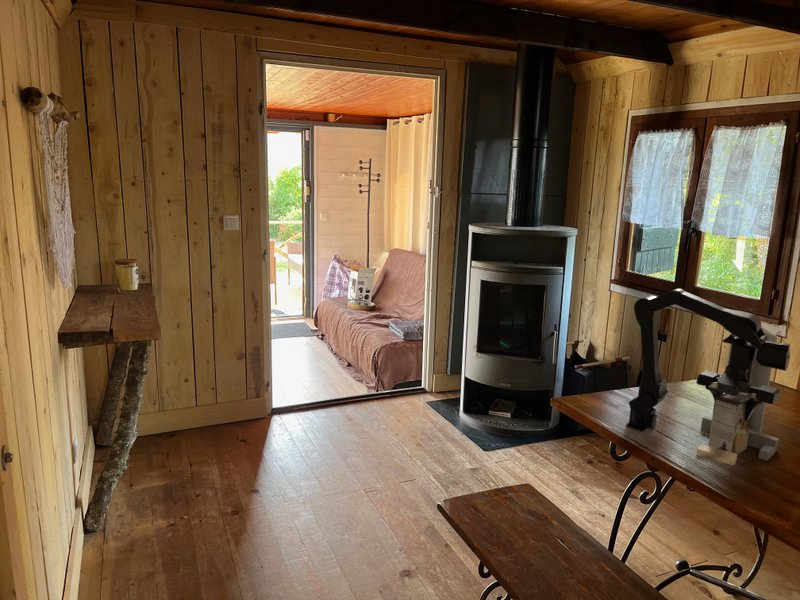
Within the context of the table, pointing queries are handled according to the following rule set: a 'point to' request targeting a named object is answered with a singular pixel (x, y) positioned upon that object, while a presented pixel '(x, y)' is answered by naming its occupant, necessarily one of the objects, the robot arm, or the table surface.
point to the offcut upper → (716, 454)
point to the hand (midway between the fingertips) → (732, 416)
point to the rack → (752, 440)
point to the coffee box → (730, 423)
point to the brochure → (760, 385)
